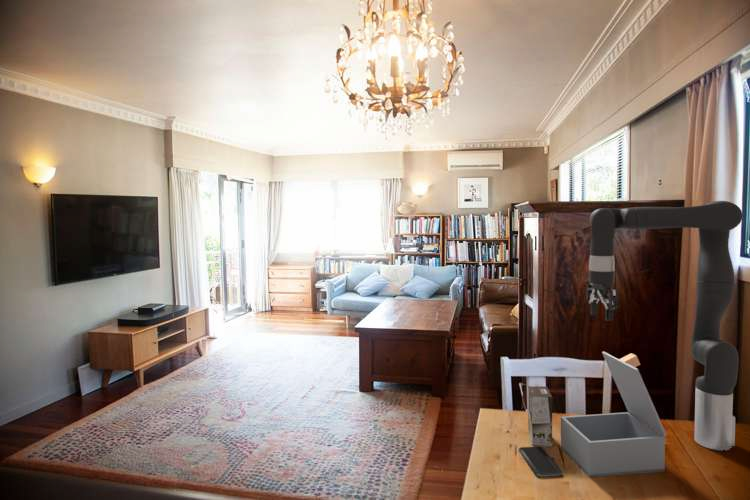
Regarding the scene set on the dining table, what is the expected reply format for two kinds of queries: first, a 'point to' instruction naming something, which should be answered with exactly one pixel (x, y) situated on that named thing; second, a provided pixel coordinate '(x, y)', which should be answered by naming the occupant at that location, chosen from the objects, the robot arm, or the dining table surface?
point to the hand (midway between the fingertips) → (601, 317)
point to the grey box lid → (633, 389)
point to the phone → (540, 462)
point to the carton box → (612, 444)
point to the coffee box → (540, 415)
